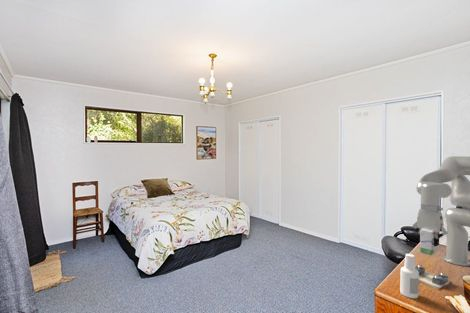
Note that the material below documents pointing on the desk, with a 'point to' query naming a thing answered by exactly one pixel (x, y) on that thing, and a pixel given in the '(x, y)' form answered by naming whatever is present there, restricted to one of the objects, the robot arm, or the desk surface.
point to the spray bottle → (409, 278)
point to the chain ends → (437, 279)
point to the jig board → (430, 280)
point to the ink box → (427, 242)
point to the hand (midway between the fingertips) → (428, 243)
